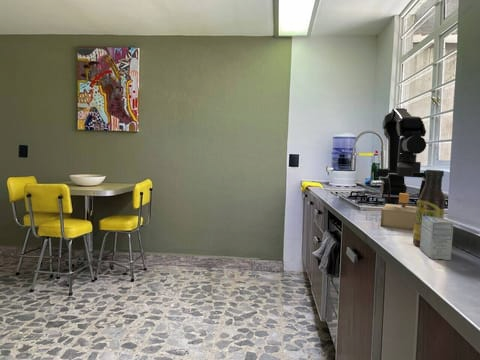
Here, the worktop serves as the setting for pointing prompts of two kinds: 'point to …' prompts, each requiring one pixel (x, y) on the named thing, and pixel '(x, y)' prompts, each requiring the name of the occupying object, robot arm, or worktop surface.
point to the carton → (398, 217)
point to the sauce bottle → (429, 201)
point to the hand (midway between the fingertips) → (403, 199)
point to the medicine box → (436, 237)
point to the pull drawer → (402, 199)
